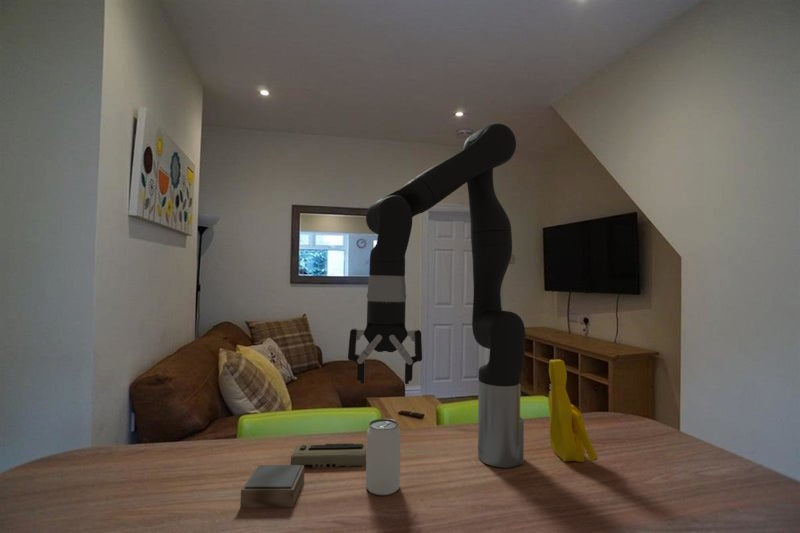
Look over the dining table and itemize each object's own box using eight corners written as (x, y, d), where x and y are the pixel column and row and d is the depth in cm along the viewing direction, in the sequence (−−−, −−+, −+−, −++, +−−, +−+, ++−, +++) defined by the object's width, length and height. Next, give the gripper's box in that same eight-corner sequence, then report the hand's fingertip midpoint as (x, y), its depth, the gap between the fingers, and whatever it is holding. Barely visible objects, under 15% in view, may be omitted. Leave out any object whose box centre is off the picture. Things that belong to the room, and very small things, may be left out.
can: (359, 492, 72) (361, 426, 72) (375, 476, 78) (376, 416, 78) (391, 499, 69) (392, 432, 70) (404, 483, 75) (405, 420, 76)
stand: (304, 481, 75) (304, 463, 76) (293, 507, 66) (293, 488, 67) (257, 481, 75) (258, 463, 75) (240, 507, 66) (240, 488, 66)
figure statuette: (606, 475, 79) (605, 368, 80) (570, 476, 79) (569, 368, 80) (563, 440, 97) (563, 353, 98) (533, 441, 96) (533, 353, 97)
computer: (365, 452, 90) (365, 437, 90) (365, 468, 82) (365, 453, 82) (296, 454, 88) (297, 439, 88) (290, 471, 80) (290, 455, 80)
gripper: (421, 299, 79) (419, 378, 78) (351, 297, 79) (349, 377, 78) (424, 300, 72) (422, 388, 71) (348, 299, 71) (345, 387, 70)
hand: (384, 383), depth 74 cm, fingers open, 8 cm apart
